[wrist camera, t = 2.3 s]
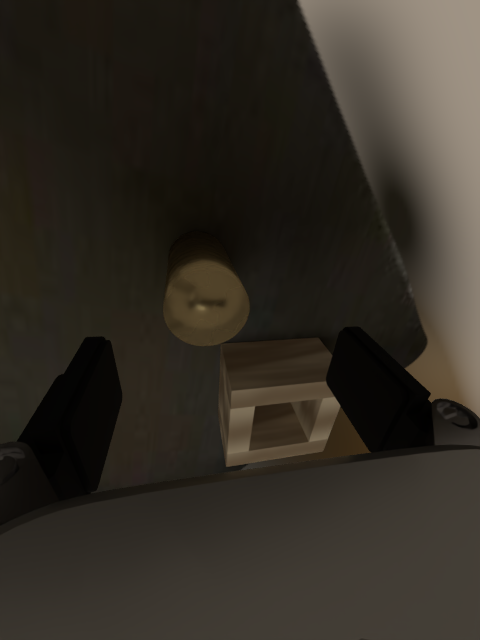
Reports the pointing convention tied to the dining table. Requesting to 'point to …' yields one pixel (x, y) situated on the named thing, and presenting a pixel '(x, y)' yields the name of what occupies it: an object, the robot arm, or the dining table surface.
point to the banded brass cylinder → (203, 292)
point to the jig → (274, 399)
